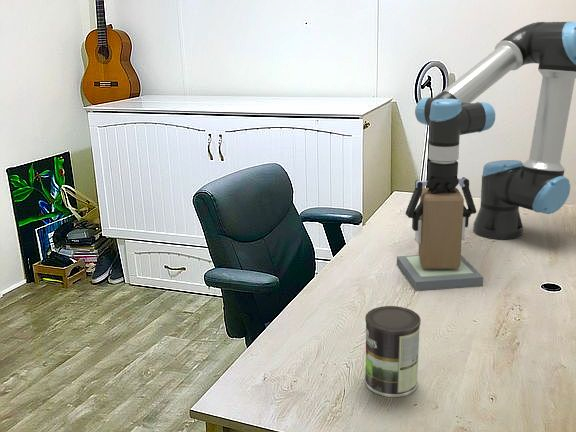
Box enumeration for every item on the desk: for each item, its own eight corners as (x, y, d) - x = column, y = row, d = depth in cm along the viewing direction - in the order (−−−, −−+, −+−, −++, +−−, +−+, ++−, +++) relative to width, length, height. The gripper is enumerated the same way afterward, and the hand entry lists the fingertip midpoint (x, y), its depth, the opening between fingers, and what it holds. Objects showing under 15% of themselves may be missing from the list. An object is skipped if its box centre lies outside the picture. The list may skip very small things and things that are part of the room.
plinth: (457, 260, 181) (458, 250, 180) (482, 285, 164) (483, 275, 163) (396, 264, 180) (396, 254, 179) (415, 290, 163) (415, 280, 162)
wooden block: (454, 255, 175) (458, 186, 169) (460, 270, 166) (464, 197, 159) (417, 255, 176) (420, 186, 170) (422, 269, 167) (424, 197, 160)
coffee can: (370, 399, 118) (371, 332, 114) (360, 370, 128) (360, 307, 123) (424, 395, 119) (427, 328, 114) (410, 366, 128) (412, 303, 124)
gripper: (481, 154, 167) (476, 232, 173) (394, 159, 165) (392, 238, 171) (493, 161, 160) (487, 242, 166) (402, 166, 157) (400, 248, 164)
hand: (439, 240), depth 169 cm, fingers open, 11 cm apart
